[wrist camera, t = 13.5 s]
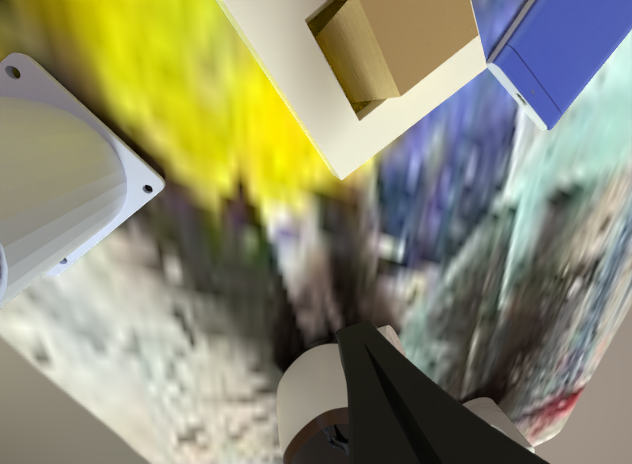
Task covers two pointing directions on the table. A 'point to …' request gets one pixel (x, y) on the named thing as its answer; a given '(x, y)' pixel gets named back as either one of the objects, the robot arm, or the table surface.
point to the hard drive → (557, 52)
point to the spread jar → (317, 404)
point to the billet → (393, 43)
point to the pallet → (323, 88)
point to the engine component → (497, 419)
